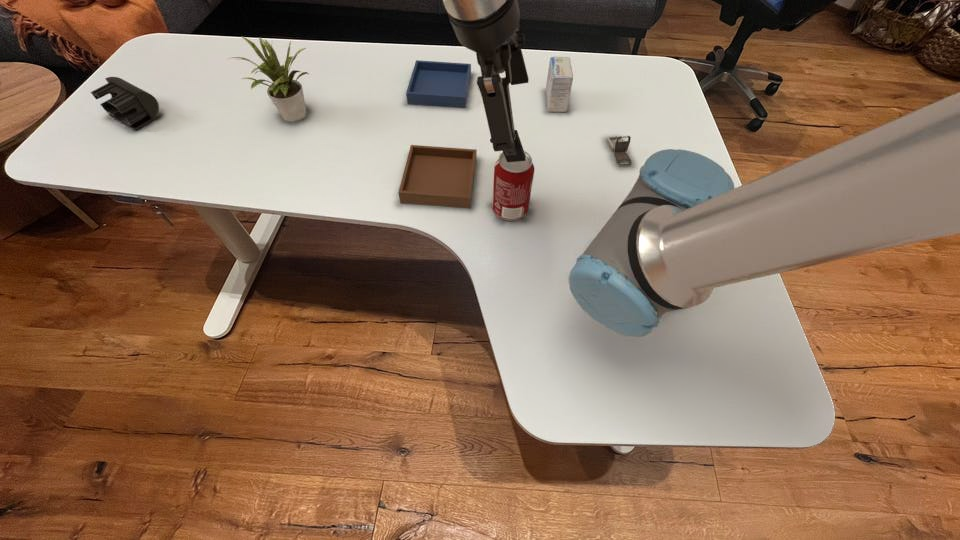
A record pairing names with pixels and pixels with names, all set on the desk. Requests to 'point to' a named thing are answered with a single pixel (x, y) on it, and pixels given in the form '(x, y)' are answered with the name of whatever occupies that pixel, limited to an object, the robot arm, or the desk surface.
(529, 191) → the soda can
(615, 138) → the strap clip
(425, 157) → the walnut tray
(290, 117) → the house plant
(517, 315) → the desk surface
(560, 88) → the medicine box
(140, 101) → the end cap
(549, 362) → the desk surface
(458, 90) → the blue tray
